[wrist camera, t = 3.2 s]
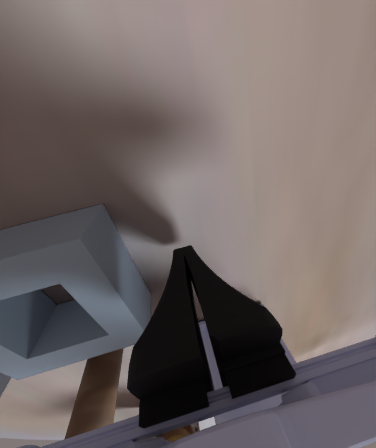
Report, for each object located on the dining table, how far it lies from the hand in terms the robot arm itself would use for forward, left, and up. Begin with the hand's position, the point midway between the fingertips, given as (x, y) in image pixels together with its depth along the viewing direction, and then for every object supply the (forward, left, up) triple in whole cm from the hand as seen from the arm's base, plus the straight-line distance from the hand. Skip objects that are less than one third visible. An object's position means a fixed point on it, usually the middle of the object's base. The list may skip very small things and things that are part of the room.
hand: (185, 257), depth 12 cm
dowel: (+12, +12, -2) cm, 17 cm away
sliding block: (+9, 0, -2) cm, 9 cm away
